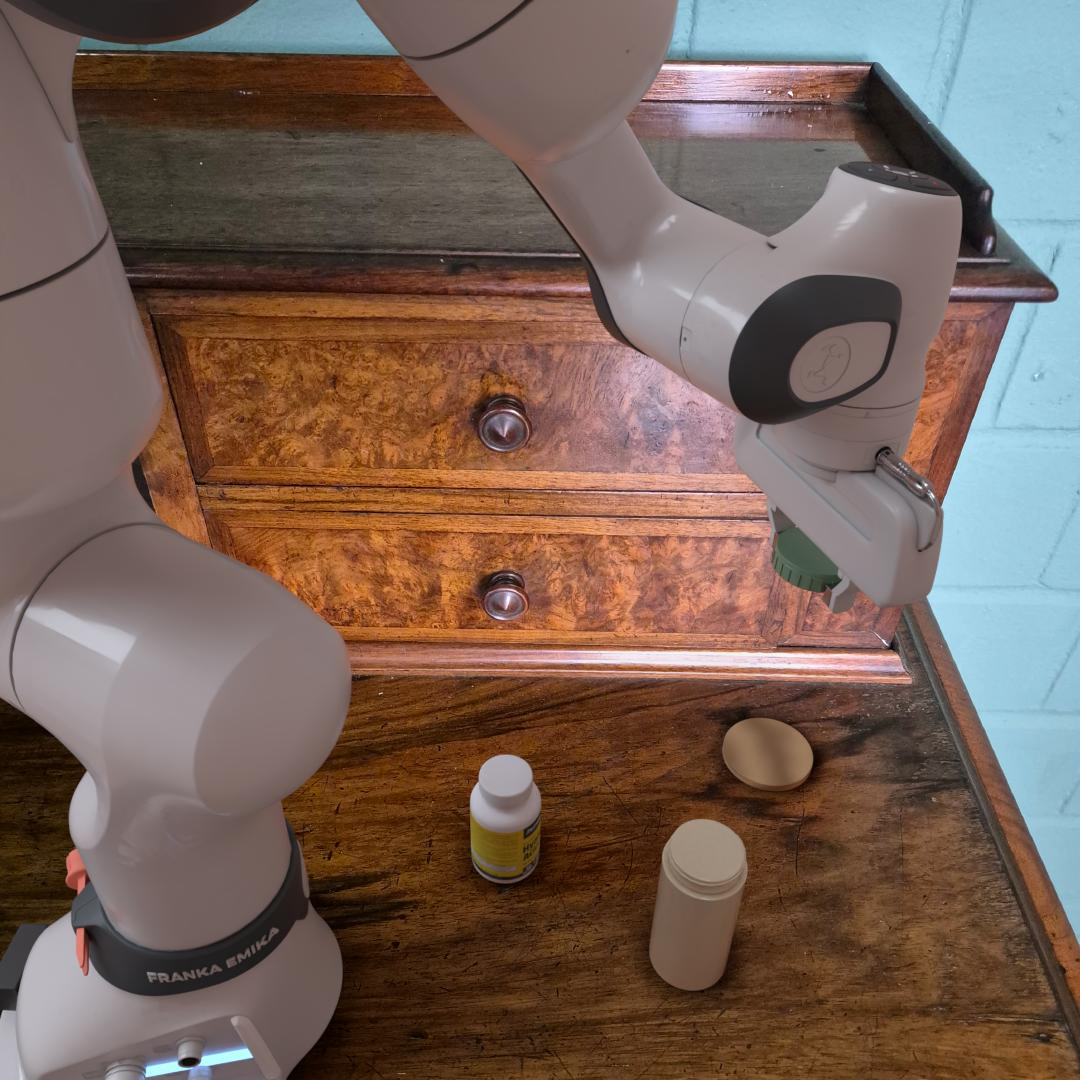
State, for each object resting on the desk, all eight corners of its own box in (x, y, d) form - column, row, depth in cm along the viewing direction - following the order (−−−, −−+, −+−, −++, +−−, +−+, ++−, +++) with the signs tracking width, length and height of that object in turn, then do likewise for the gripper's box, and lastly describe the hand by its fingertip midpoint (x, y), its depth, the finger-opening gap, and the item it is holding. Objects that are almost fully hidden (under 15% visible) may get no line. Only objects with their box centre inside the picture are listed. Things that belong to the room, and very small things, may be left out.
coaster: (750, 802, 80) (752, 796, 79) (706, 736, 86) (707, 729, 85) (829, 777, 82) (831, 771, 82) (781, 714, 88) (782, 708, 88)
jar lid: (796, 599, 68) (801, 580, 67) (756, 549, 73) (760, 531, 72) (871, 587, 70) (877, 569, 69) (827, 539, 75) (832, 521, 74)
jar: (671, 1003, 66) (690, 899, 59) (635, 933, 70) (649, 828, 63) (741, 974, 68) (767, 870, 60) (701, 908, 72) (722, 803, 64)
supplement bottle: (532, 892, 73) (533, 810, 67) (464, 879, 74) (459, 797, 68) (546, 834, 77) (548, 752, 71) (481, 822, 78) (478, 741, 72)
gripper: (990, 487, 57) (932, 656, 65) (802, 348, 72) (774, 499, 80) (903, 507, 55) (854, 678, 63) (729, 360, 70) (707, 513, 79)
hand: (808, 576), depth 72 cm, fingers closed on jar lid, 6 cm apart
